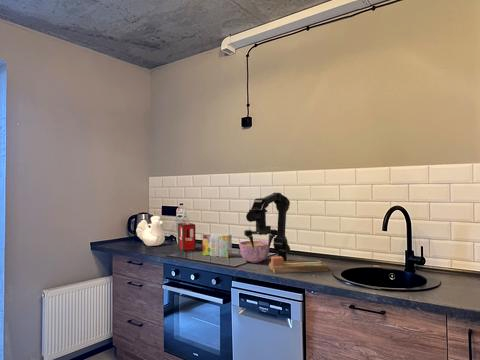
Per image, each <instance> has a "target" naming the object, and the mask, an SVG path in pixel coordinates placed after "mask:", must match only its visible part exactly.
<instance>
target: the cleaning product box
mask: <svg viewBox="0 0 480 360" xmlns="http://www.w3.org/2000/svg"><path fill="white" fill-rule="evenodd" d="M196 239H197V237H196V224H195V223H191V222H180V223H179V222H178V223H177V249H178V250H179V249H180V250H182V251H183V252H187V251H196V246H197V245H196V241H197V240H196ZM180 250H179V251H180ZM182 251H181V252H182ZM183 252H182V253H183ZM196 252H197V251H196ZM187 253H188V252H187Z"/></svg>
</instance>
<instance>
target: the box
mask: <svg viewBox="0 0 480 360" xmlns="http://www.w3.org/2000/svg"><path fill="white" fill-rule="evenodd" d="M268 267H269V268H270V270H271V271H272V272H273V273H274V274H285V273H286V274H289V273H291V274H292V273H312V272H329V265H328V264H326V263H324V262H323V261H322V260H320V259H312V260H311V259H309V260H308V259H307V260H288V261H284V266H273V265H272V264H271V261H268Z"/></svg>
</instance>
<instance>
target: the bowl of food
mask: <svg viewBox="0 0 480 360" xmlns="http://www.w3.org/2000/svg"><path fill="white" fill-rule="evenodd" d="M238 244H239V245H238V246H239V249H240V253H241V257H242V258H243V259H244V260H246V262H247V261H248V263H250V264H251V263H252V264H253V263H254V264H258V263H262V261H264V260H266V259H267V258H268V256H269V252H270V248H269V246H268V241H266V240H253V244H254V248H253V247H252V244H251V241H250V240H245V241H241V242H238Z"/></svg>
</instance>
